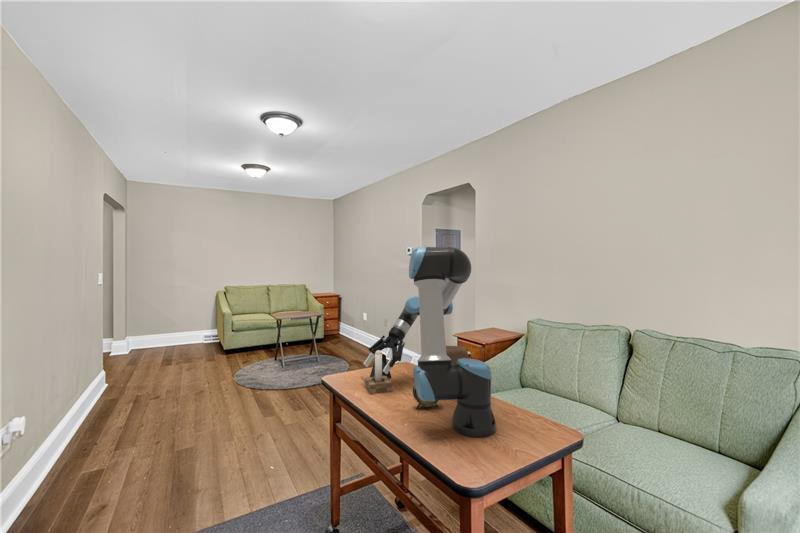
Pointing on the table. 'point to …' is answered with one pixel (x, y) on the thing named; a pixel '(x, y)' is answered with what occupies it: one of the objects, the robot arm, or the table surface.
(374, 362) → the door stopper
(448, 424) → the table surface
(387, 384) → the brown square box
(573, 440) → the table surface
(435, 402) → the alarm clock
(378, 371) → the needle peg
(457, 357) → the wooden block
